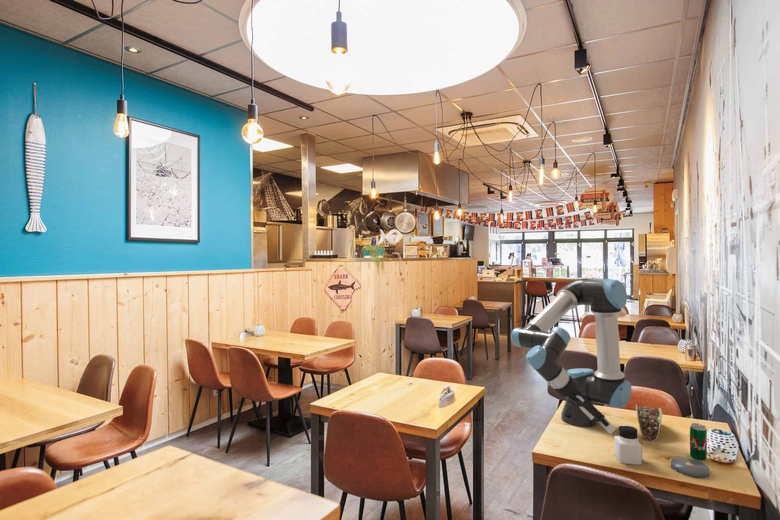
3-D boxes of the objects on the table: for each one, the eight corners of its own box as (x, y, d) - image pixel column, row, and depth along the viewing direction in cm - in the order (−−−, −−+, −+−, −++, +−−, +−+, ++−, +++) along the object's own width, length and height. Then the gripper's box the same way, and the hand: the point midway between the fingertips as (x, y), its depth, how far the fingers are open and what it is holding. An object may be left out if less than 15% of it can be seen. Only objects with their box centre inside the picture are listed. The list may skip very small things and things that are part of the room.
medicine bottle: (642, 465, 154) (642, 431, 154) (620, 463, 155) (620, 429, 155) (635, 456, 161) (635, 424, 161) (614, 454, 162) (614, 422, 162)
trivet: (667, 460, 157) (667, 455, 157) (702, 465, 154) (702, 459, 154) (676, 474, 147) (676, 468, 147) (714, 480, 143) (714, 473, 143)
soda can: (703, 456, 161) (704, 423, 161) (708, 462, 157) (709, 428, 157) (687, 454, 163) (688, 421, 163) (692, 459, 158) (692, 426, 158)
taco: (635, 439, 177) (635, 414, 177) (635, 418, 200) (635, 396, 200) (663, 444, 172) (664, 418, 172) (660, 422, 196) (660, 399, 196)
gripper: (542, 380, 170) (579, 418, 170) (569, 400, 145) (613, 445, 145) (555, 366, 170) (593, 405, 170) (585, 384, 145) (629, 429, 146)
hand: (602, 423), depth 158 cm, fingers open, 13 cm apart
